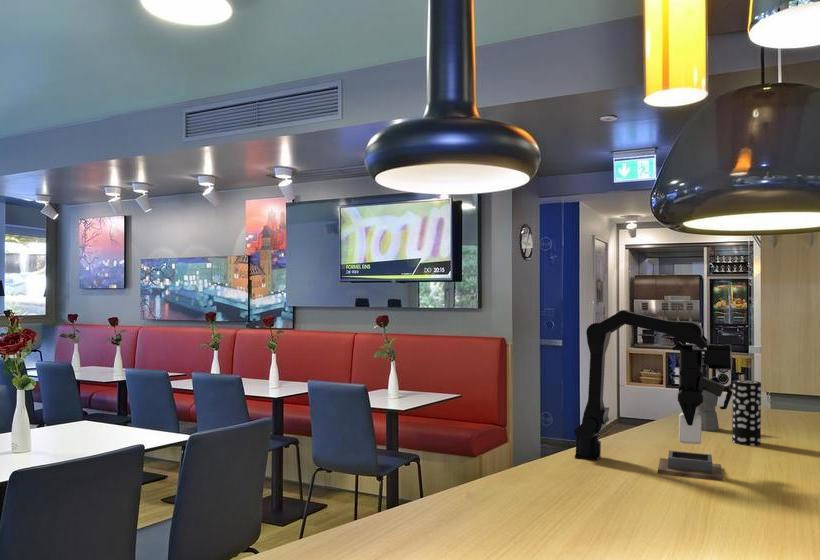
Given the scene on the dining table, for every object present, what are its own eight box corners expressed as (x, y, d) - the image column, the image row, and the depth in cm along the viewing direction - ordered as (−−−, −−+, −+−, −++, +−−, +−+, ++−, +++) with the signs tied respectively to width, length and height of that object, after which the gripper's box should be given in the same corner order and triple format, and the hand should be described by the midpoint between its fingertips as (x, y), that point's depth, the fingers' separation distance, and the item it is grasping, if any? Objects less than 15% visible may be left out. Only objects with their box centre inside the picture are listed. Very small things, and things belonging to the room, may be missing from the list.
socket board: (657, 473, 182) (657, 469, 182) (660, 461, 195) (660, 458, 195) (722, 480, 176) (723, 476, 176) (720, 467, 189) (720, 464, 189)
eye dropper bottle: (696, 445, 182) (697, 400, 182) (676, 442, 186) (676, 398, 186) (703, 443, 185) (703, 399, 185) (683, 439, 189) (683, 397, 189)
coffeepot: (685, 429, 241) (686, 379, 241) (684, 424, 250) (685, 376, 250) (733, 433, 236) (733, 381, 236) (730, 428, 245) (731, 378, 245)
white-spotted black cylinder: (765, 446, 217) (766, 383, 217) (739, 445, 217) (740, 383, 217) (752, 440, 225) (753, 380, 225) (727, 439, 225) (728, 379, 226)
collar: (667, 468, 183) (668, 457, 183) (669, 460, 191) (669, 450, 191) (712, 473, 179) (712, 462, 179) (711, 465, 187) (711, 454, 187)
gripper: (724, 373, 174) (723, 433, 174) (721, 365, 191) (720, 420, 191) (678, 370, 178) (677, 429, 178) (679, 363, 195) (678, 417, 195)
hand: (689, 424), depth 185 cm, fingers closed on eye dropper bottle, 3 cm apart
